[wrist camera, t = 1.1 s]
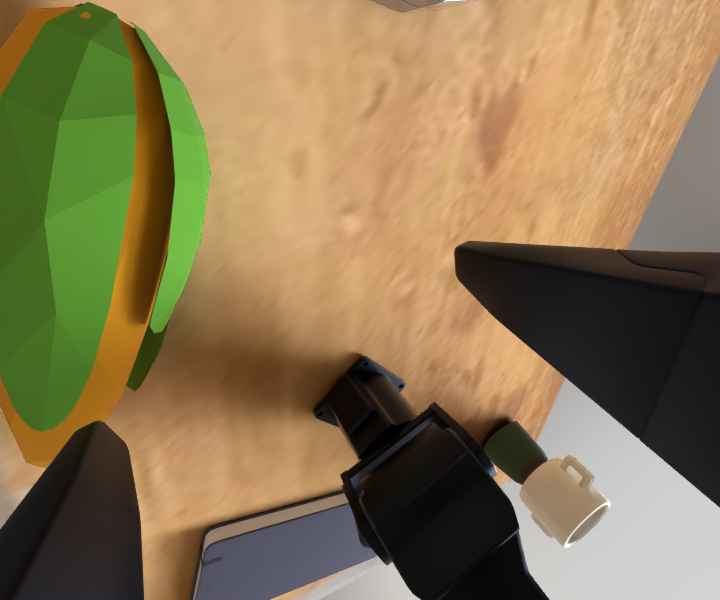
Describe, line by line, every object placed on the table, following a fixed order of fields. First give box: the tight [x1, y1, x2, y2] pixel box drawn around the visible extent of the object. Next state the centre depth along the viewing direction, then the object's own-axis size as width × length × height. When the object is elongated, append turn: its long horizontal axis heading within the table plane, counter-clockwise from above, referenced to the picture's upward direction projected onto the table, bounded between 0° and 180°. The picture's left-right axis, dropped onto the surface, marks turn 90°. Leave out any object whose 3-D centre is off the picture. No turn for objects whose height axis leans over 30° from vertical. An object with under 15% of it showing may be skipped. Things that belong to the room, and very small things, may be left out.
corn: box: [0, 2, 211, 468], centre depth 15 cm, size 7×8×20 cm
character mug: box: [484, 421, 611, 548], centre depth 44 cm, size 11×7×13 cm, turn 167°
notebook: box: [190, 491, 376, 600], centre depth 38 cm, size 13×2×21 cm
